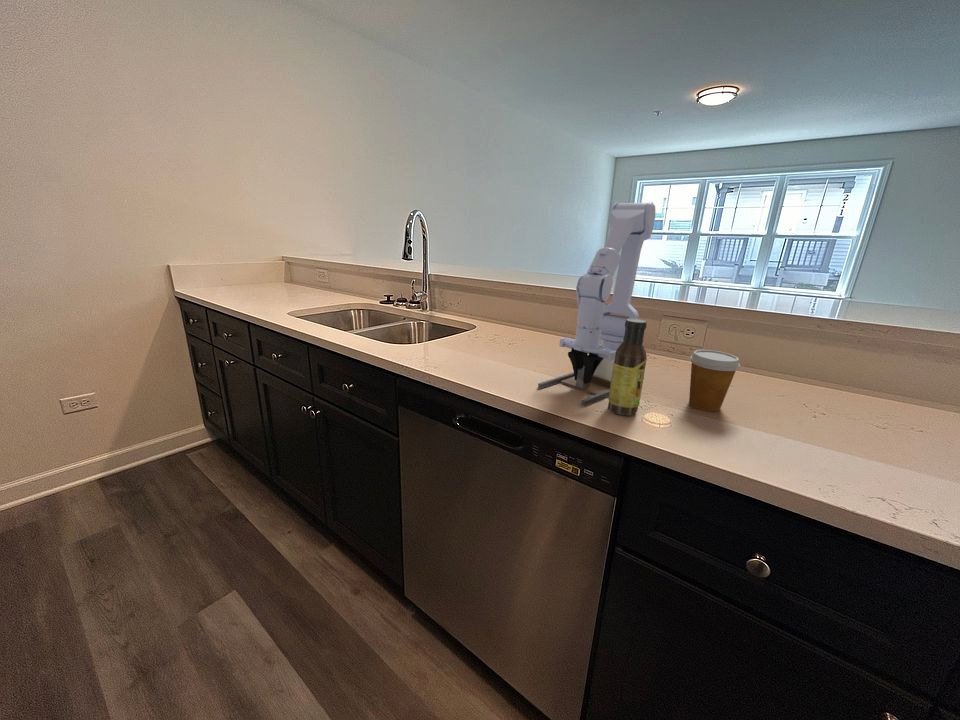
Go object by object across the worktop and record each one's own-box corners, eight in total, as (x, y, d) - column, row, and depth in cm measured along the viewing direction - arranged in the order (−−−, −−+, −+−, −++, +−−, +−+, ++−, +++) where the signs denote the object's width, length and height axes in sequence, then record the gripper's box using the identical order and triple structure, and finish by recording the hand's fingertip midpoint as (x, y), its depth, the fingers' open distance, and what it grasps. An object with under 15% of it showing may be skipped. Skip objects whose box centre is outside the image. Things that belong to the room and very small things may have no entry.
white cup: (619, 384, 99) (623, 358, 97) (590, 382, 100) (594, 355, 98) (615, 375, 105) (619, 350, 103) (589, 373, 107) (592, 348, 104)
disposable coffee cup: (723, 401, 93) (735, 352, 89) (733, 418, 84) (747, 364, 80) (678, 394, 96) (688, 347, 92) (684, 410, 87) (695, 358, 83)
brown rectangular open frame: (594, 371, 110) (597, 354, 108) (631, 383, 102) (634, 365, 100) (560, 383, 100) (562, 364, 99) (598, 396, 93) (601, 376, 91)
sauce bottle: (638, 419, 82) (654, 325, 76) (606, 414, 84) (620, 322, 77) (636, 407, 88) (651, 318, 82) (607, 402, 89) (619, 316, 83)
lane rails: (581, 373, 108) (582, 369, 108) (626, 388, 98) (627, 384, 98) (537, 387, 97) (538, 383, 96) (584, 406, 87) (584, 401, 87)
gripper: (553, 322, 95) (548, 375, 99) (607, 335, 85) (598, 394, 89) (571, 319, 100) (566, 370, 104) (624, 331, 89) (615, 387, 93)
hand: (582, 381), depth 97 cm, fingers closed on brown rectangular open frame, 2 cm apart
